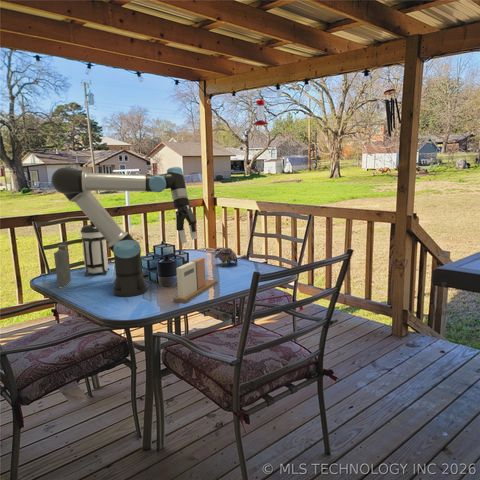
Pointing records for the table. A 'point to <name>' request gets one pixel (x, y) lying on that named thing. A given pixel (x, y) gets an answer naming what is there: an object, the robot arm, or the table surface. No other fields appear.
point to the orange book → (200, 272)
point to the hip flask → (62, 266)
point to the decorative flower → (226, 255)
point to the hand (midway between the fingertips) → (189, 241)
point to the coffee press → (94, 250)
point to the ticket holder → (189, 283)
